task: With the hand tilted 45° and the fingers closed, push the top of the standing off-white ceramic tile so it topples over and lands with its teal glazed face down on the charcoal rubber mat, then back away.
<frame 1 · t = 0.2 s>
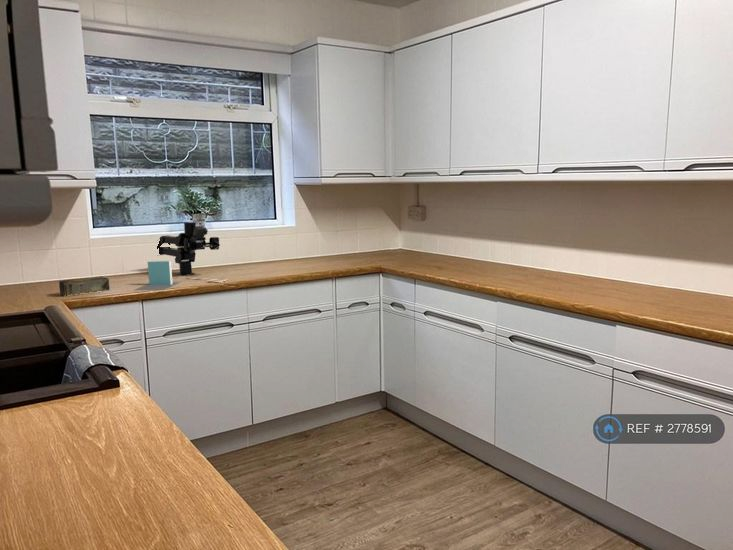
hand: (211, 245, 287), 17 cm above the countertop, tool horizontal, fingers open, 9 cm apart
tile: (161, 284, 273), resting on mat
mat: (157, 286, 270), on the countertop
beverage carton: (85, 293, 259), on the countertop
turner: (205, 280, 284), on the countertop
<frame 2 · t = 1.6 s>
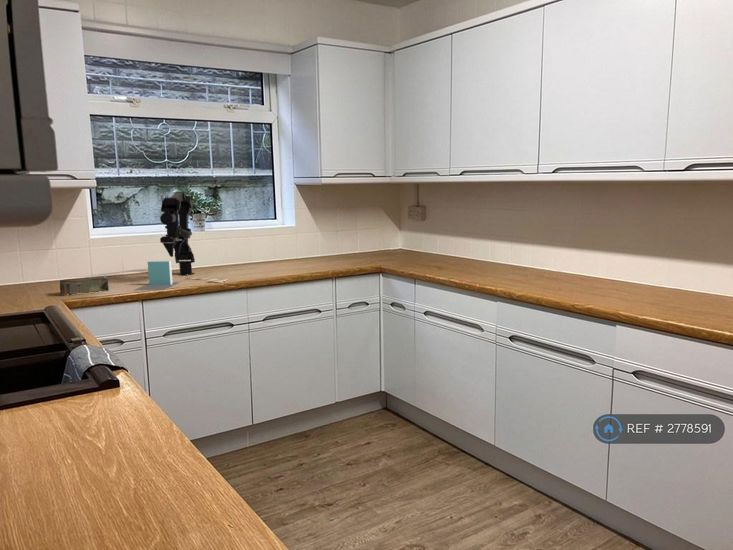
hand: (174, 255, 285), 12 cm above the countertop, tool pointing down, fingers open, 8 cm apart
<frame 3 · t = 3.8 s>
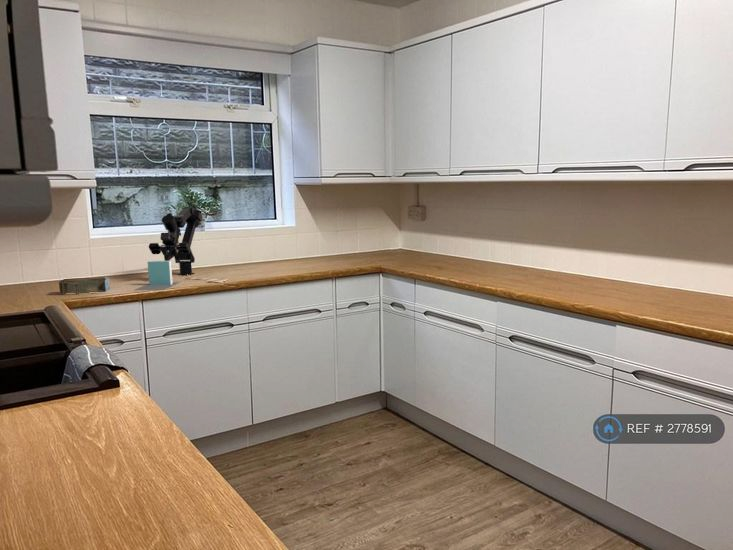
hand: (165, 262, 280), 10 cm above the countertop, tool tilted 45°, fingers closed
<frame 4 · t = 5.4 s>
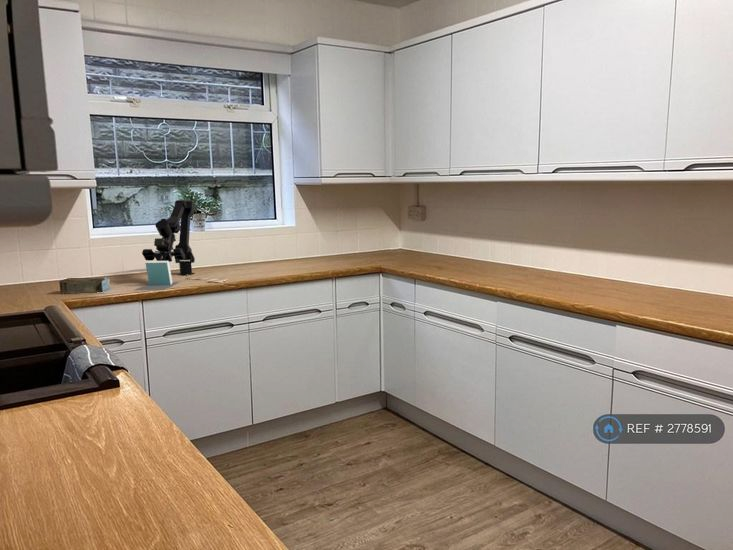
hand: (159, 268, 272), 8 cm above the countertop, tool tilted 45°, fingers closed
tile: (160, 284, 273), point 1 cm above the countertop, tilted 13°, touching mat
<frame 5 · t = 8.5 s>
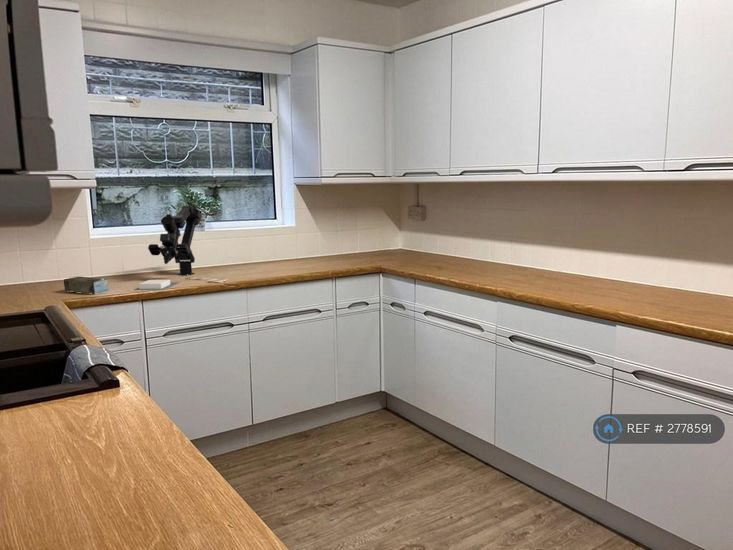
hand: (165, 263, 279), 9 cm above the countertop, tool tilted 45°, fingers closed
tile: (159, 282, 272), point 2 cm above the countertop, tilted 90°, touching mat
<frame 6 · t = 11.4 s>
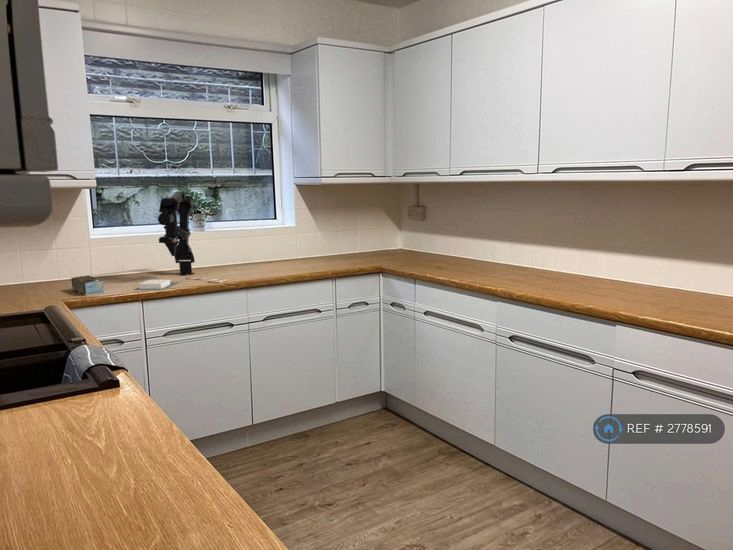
hand: (173, 256, 286), 12 cm above the countertop, tool pointing down, fingers closed
at the end: tile tilted 90°; tile 2.6 cm from the mat (horizontally); tile point 1.6 cm above the countertop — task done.
